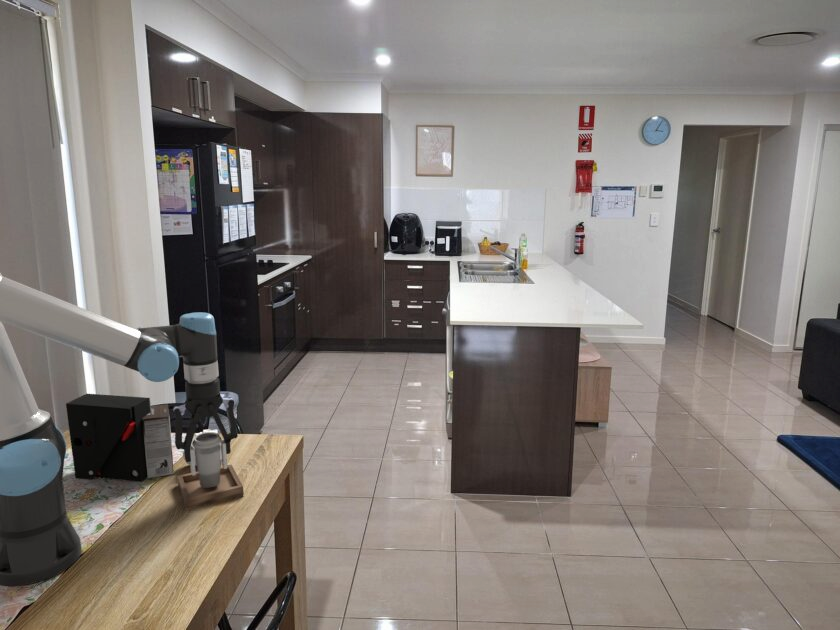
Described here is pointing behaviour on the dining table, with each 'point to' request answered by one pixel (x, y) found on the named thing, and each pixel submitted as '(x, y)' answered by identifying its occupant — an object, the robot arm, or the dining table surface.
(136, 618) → the dining table surface
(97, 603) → the dining table surface
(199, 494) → the tray
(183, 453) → the white lumpy piece
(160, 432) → the coffee box
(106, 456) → the electrical component
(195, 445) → the cup
